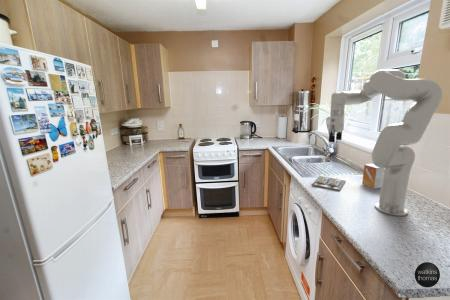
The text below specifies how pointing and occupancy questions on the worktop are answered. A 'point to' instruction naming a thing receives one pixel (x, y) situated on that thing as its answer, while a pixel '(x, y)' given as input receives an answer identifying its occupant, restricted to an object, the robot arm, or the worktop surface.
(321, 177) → the switch
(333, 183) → the switch
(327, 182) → the switch unit
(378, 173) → the small box
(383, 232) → the worktop surface
